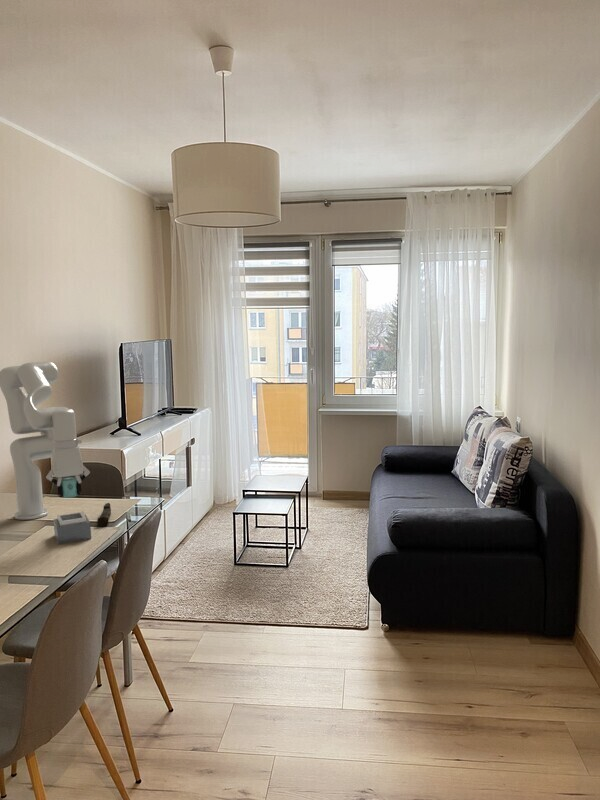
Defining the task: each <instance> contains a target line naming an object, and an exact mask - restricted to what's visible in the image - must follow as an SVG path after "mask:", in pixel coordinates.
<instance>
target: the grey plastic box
mask: <svg viewBox="0 0 600 800" xmlns="http://www.w3.org/2000/svg"><path fill="white" fill-rule="evenodd" d="M53 529H54V530H53V531H54V537H55V539H56V542H57V544H58V545H62V544H63V543H64V544H68V543H75V542H80V541H81V542H82V541H85V540H86V541H87V540H92V530H91V522H90V520H89V518H88V516H87V515H86V514H85V513H84V512H83V511H79V512H73V513H72V512H70V513H65V514H59V515H58V514H57V515H56V518H55V519H53ZM64 544H63V545H64Z"/></svg>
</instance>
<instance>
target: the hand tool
mask: <svg viewBox="0 0 600 800" xmlns="http://www.w3.org/2000/svg"><path fill="white" fill-rule="evenodd" d="M111 511H112V509H111V504H110V502H107V503H105V504H104V505H103V509H102V511H101V514H100V515H99V517H98V518H97V526H98V527H107V526H108V525H109V520H110V517H111V516H112V512H111ZM110 515H111V516H110Z"/></svg>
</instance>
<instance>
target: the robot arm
mask: <svg viewBox="0 0 600 800" xmlns="http://www.w3.org/2000/svg"><path fill="white" fill-rule="evenodd" d="M59 377H60V375H59V369H58V367H57V365H56V364H55V363H54V362H52V361H33V362H32V361H31V362H25V363H23V364H21V365H13V366H7V367H4V368H2V369H1V370H0V391H1V392H2V394H3V396H4V398H5V400H6V406H7V413H8V419H9V425H10V429H11V431H12V433H13V434H15V435H29V434H34V433H40V435H35V436H34V435H32V436H25V437H21V438H17V439H15V440H13V441H12V442H11V443H10V446H9V451H10V452H9V453H10V456H11V459H12V464H13V468H14V469H13V470H14V481H15V492H16V493H15V494H16V502H17V512H16V513H14V515H13V518H15V520H21V521H25V520H34V519H39V518H43V517H45V516H47V515H48V514H49V510H48V509H47V508H44V499H43V498H44V496H43V495H44V494H43V482H42V473H41V469H40V468H39V467H38V465H36V464H35V462H34V461H39V460H44V459H50V458H51V469H50V470H49V471H48V473H47V475H46V476H45V478H46V480H48V481H50V482H52V483H53V484H54V485H56V488H57V495H59V496H60V498H63V490H62V485H61V480H62V479H64V478H72V477H74V478H76V483H77V496H80V495H81V493H80V492H82V482H83V481H84V480H85V479H86V477H87V476H88V475H89V474H91V471H90V470H89V469H88V468H87V467H86V466H85V465H84V463H83V458H82V452H81V448H80V446H79V445H80V444H82V439H78V437H77V435H78V434H77V425H76V424H77V423H76V414H75V411H74V410H73V409H72V408H68V407H65V406H57V407H56V406H55V407H47V408H46V407H45V408H42V407H41V408H39V407H38V408H36V407H37V406H39V405H40V404H42V403H44V402H46V401H47V400H48V399H50V397H51V396H52V394H53V388H52V384H54V383H56V382H57V381H58V379H59ZM22 388H24V390H25V391H24V390H23V389H22ZM55 478H56V479H55Z"/></svg>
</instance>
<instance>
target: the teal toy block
mask: <svg viewBox="0 0 600 800" xmlns="http://www.w3.org/2000/svg"><path fill="white" fill-rule="evenodd" d="M76 481H77V479H76V477H63V478H62V480H61V485H62V490H63V497H62V498H65V499H68V498H69V499H70V498H75V497H77V496H78V495H77V483H76Z"/></svg>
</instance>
